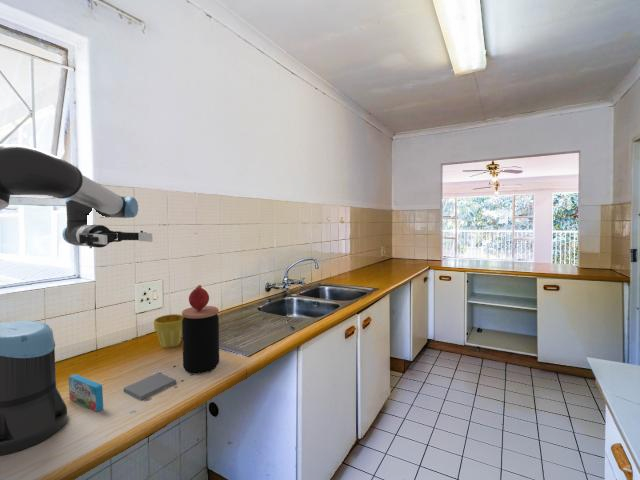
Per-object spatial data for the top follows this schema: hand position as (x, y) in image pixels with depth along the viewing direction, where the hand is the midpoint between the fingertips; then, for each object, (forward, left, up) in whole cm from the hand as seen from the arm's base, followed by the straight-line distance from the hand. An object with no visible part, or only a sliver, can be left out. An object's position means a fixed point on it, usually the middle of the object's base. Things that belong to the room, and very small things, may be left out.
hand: (130, 238), depth 98 cm
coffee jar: (+10, -19, -40) cm, 46 cm away
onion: (+10, -19, -22) cm, 31 cm away
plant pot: (+16, +5, -40) cm, 44 cm away
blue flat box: (-18, -11, -40) cm, 45 cm away
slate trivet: (-5, -17, -40) cm, 44 cm away
